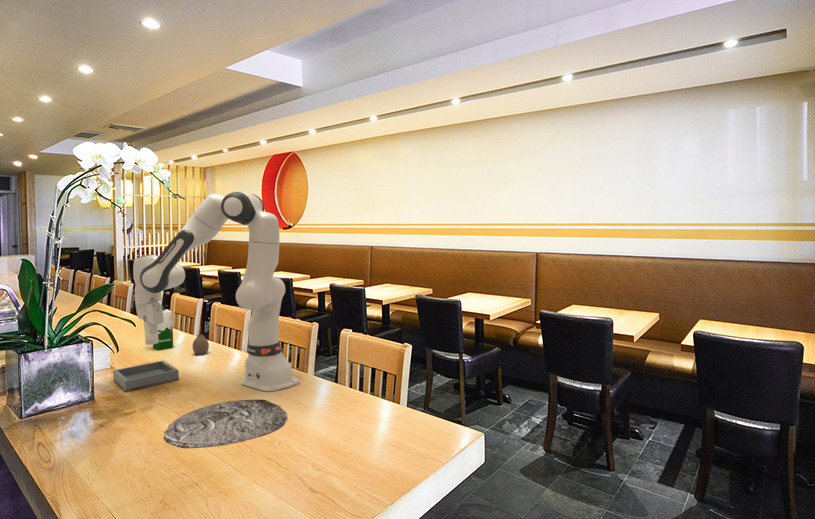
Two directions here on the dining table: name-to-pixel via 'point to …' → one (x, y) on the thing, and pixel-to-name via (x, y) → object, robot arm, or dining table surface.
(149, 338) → the shaker
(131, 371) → the tray
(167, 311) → the milk carton
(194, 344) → the vase
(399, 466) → the dining table surface
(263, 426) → the worn metal disc
